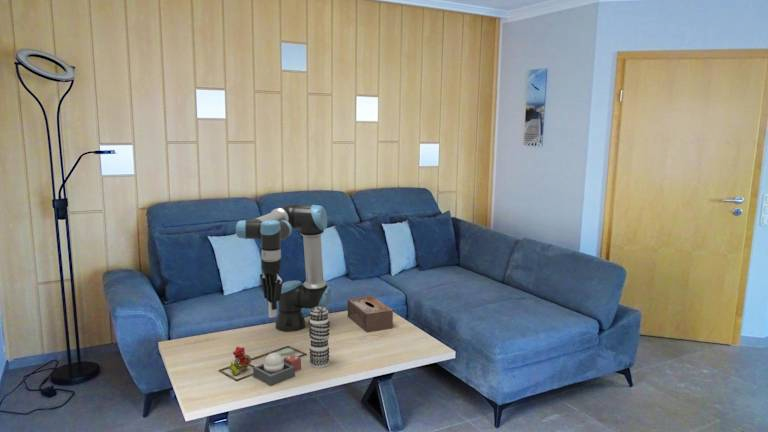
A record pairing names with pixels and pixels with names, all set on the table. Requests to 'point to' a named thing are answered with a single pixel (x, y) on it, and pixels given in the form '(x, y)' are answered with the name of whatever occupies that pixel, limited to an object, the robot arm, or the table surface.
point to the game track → (283, 352)
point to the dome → (273, 363)
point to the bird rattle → (243, 358)
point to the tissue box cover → (370, 314)
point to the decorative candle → (319, 337)
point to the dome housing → (290, 367)
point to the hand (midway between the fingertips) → (272, 316)
